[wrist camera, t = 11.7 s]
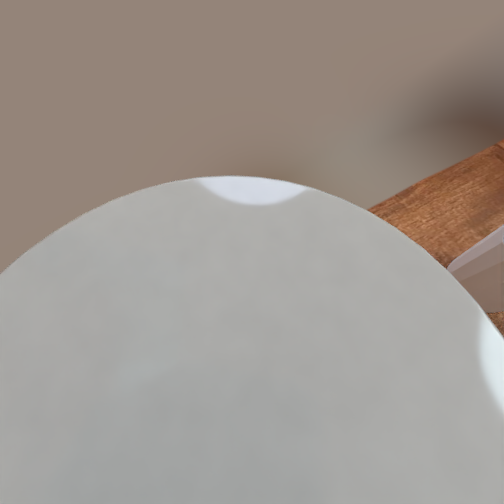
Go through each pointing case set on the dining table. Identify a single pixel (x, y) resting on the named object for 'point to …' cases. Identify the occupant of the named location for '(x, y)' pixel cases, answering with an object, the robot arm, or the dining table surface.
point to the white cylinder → (244, 357)
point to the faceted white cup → (483, 271)
